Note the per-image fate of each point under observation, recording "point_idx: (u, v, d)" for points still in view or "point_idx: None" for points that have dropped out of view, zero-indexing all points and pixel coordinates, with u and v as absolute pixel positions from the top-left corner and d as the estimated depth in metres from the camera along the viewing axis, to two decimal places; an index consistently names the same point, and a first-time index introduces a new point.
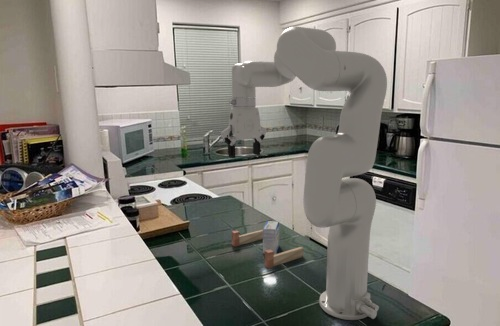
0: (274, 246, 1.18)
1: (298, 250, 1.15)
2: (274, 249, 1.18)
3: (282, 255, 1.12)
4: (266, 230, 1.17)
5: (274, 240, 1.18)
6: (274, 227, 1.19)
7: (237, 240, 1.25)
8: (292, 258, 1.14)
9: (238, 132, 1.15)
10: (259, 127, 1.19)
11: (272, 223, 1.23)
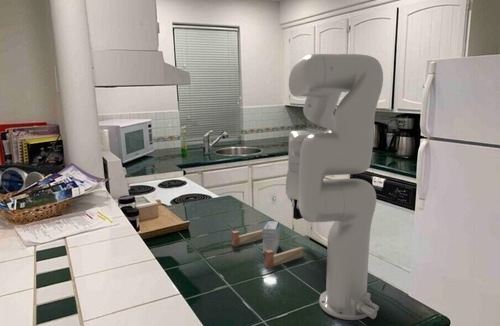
0: (274, 246, 1.18)
1: (298, 250, 1.15)
2: (274, 249, 1.18)
3: (282, 255, 1.12)
4: (266, 230, 1.18)
5: (274, 240, 1.18)
6: (274, 227, 1.19)
7: (237, 240, 1.25)
8: (292, 258, 1.14)
9: None
10: None
11: (272, 223, 1.23)
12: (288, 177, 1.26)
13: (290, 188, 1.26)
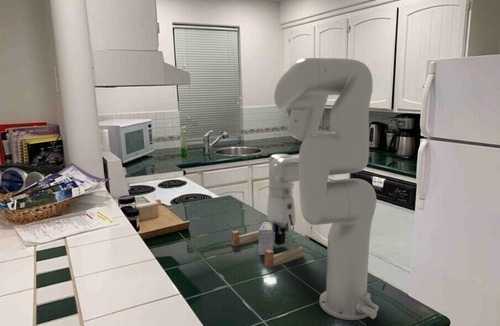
0: (270, 247, 1.17)
1: (298, 250, 1.15)
2: None
3: (282, 255, 1.12)
4: (262, 231, 1.17)
5: (270, 241, 1.17)
6: (270, 228, 1.18)
7: (237, 240, 1.25)
8: (292, 258, 1.14)
9: None
10: None
11: (267, 223, 1.22)
12: (269, 201, 1.23)
13: (271, 213, 1.23)
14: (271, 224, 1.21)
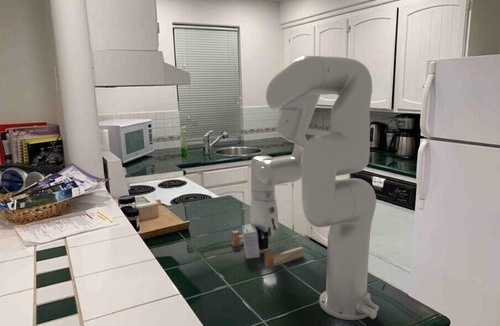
0: (257, 249, 1.15)
1: (298, 250, 1.15)
2: (257, 252, 1.15)
3: (282, 255, 1.12)
4: (247, 234, 1.14)
5: (256, 243, 1.15)
6: (254, 230, 1.16)
7: (237, 240, 1.25)
8: (292, 258, 1.14)
9: None
10: None
11: (249, 226, 1.19)
12: (252, 205, 1.19)
13: (254, 217, 1.19)
14: (253, 226, 1.19)
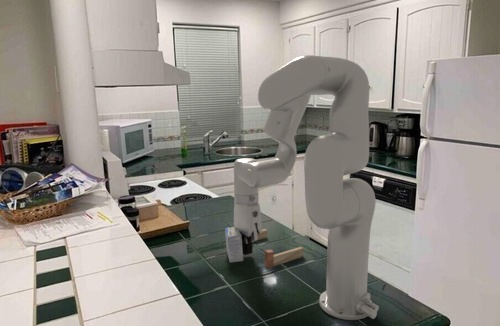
0: (241, 252, 1.13)
1: (298, 250, 1.15)
2: (241, 256, 1.13)
3: (282, 255, 1.12)
4: (231, 237, 1.11)
5: (240, 246, 1.12)
6: (238, 233, 1.13)
7: None
8: (292, 258, 1.14)
9: None
10: None
11: (232, 229, 1.17)
12: (235, 209, 1.16)
13: (237, 221, 1.15)
14: (236, 229, 1.17)
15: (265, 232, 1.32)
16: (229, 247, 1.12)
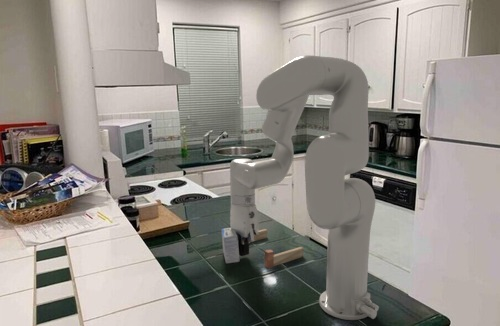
0: (237, 253, 1.12)
1: (298, 250, 1.15)
2: (237, 256, 1.12)
3: (282, 255, 1.12)
4: (227, 238, 1.11)
5: (236, 247, 1.12)
6: (234, 233, 1.13)
7: None
8: (292, 258, 1.14)
9: None
10: None
11: (228, 230, 1.16)
12: (231, 209, 1.15)
13: (234, 222, 1.14)
14: (233, 230, 1.16)
15: (265, 232, 1.32)
16: (225, 248, 1.11)
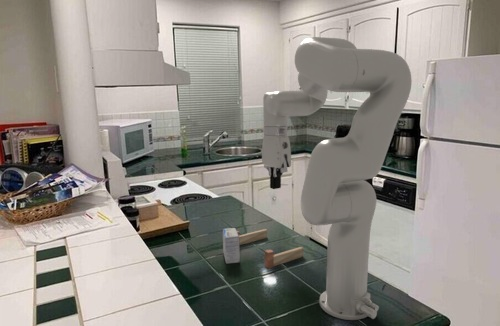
0: (237, 254, 1.12)
1: (298, 250, 1.15)
2: (237, 257, 1.13)
3: (282, 255, 1.12)
4: (228, 238, 1.11)
5: (237, 248, 1.12)
6: (235, 234, 1.13)
7: None
8: (292, 258, 1.14)
9: None
10: None
11: (230, 230, 1.17)
12: (264, 143, 1.18)
13: (266, 155, 1.17)
14: (234, 230, 1.16)
15: (265, 232, 1.32)
16: (226, 248, 1.11)
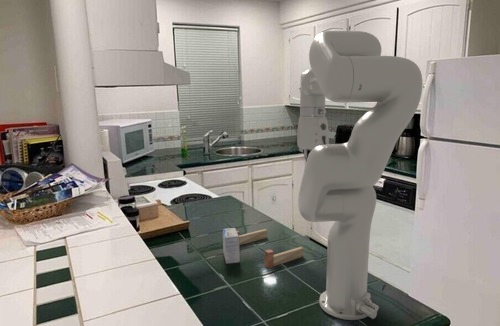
0: (237, 254, 1.12)
1: (298, 250, 1.15)
2: (237, 257, 1.13)
3: (282, 255, 1.12)
4: (228, 238, 1.11)
5: (237, 248, 1.12)
6: (235, 234, 1.13)
7: None
8: (292, 258, 1.14)
9: None
10: None
11: (230, 230, 1.17)
12: (300, 125, 1.14)
13: (302, 137, 1.13)
14: (234, 230, 1.16)
15: (265, 232, 1.32)
16: (226, 248, 1.11)
